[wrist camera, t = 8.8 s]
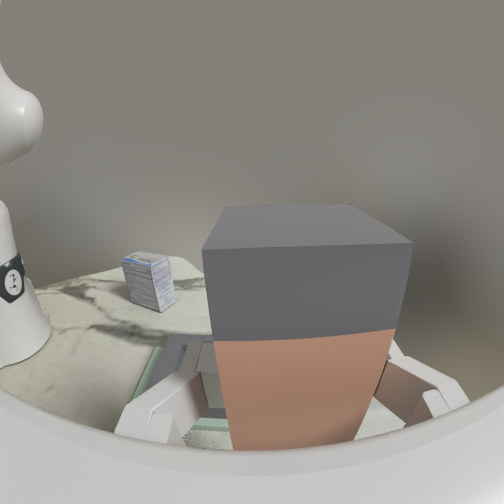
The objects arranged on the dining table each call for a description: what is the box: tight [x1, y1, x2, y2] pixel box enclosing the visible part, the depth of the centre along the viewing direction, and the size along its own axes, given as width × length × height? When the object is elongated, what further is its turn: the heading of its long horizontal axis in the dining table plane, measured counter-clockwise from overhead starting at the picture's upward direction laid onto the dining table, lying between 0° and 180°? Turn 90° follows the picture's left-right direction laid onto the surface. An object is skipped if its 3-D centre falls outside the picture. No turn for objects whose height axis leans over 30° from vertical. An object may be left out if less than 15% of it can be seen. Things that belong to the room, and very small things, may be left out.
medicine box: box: [121, 251, 176, 312], centre depth 44 cm, size 8×4×9 cm, turn 65°
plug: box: [202, 204, 413, 450], centre depth 8 cm, size 4×4×11 cm
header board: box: [131, 334, 229, 431], centre depth 26 cm, size 16×12×4 cm
